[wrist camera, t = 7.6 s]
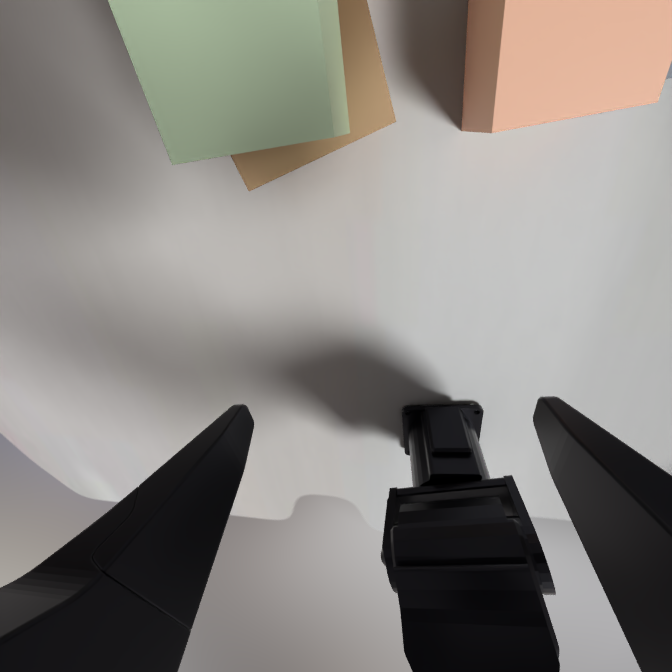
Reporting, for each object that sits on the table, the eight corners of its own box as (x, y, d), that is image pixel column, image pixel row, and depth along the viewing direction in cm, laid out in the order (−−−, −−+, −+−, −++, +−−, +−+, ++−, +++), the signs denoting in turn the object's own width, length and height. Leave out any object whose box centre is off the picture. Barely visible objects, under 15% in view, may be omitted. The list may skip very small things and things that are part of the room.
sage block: (349, 133, 12) (334, 137, 8) (237, 152, 13) (172, 164, 9) (331, -57, 9) (294, -195, 5) (189, -16, 10) (65, -107, 6)
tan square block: (392, 122, 15) (396, 121, 12) (273, 179, 17) (249, 191, 14) (341, -84, 12) (326, -165, 8) (200, 20, 14) (145, -13, 10)
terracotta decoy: (575, 109, 14) (657, 102, 10) (460, 131, 15) (491, 132, 11) (613, -58, 11) (748, -165, 7) (468, -18, 12) (514, -92, 8)
